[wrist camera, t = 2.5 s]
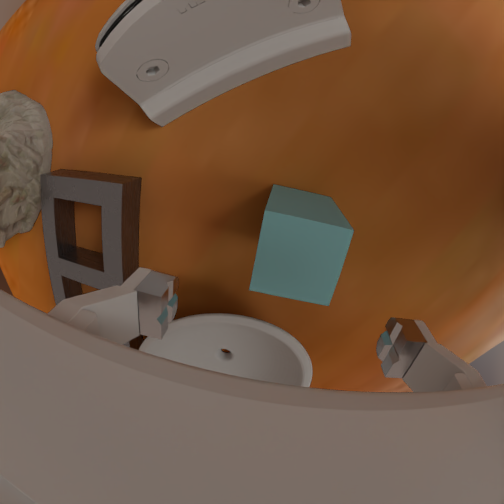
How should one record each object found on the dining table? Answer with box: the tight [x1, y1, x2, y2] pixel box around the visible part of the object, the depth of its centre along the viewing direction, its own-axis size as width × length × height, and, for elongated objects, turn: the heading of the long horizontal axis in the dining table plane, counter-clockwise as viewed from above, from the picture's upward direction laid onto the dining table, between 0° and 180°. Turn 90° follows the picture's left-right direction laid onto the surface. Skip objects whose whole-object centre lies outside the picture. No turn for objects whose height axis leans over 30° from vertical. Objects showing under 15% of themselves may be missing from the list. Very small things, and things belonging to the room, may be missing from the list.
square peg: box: [249, 185, 354, 306], centre depth 17 cm, size 4×4×8 cm
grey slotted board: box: [40, 169, 143, 350], centre depth 25 cm, size 10×26×3 cm, turn 170°
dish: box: [139, 313, 312, 387], centre depth 25 cm, size 18×14×5 cm
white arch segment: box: [95, 0, 351, 127], centre depth 13 cm, size 17×5×10 cm, turn 115°
